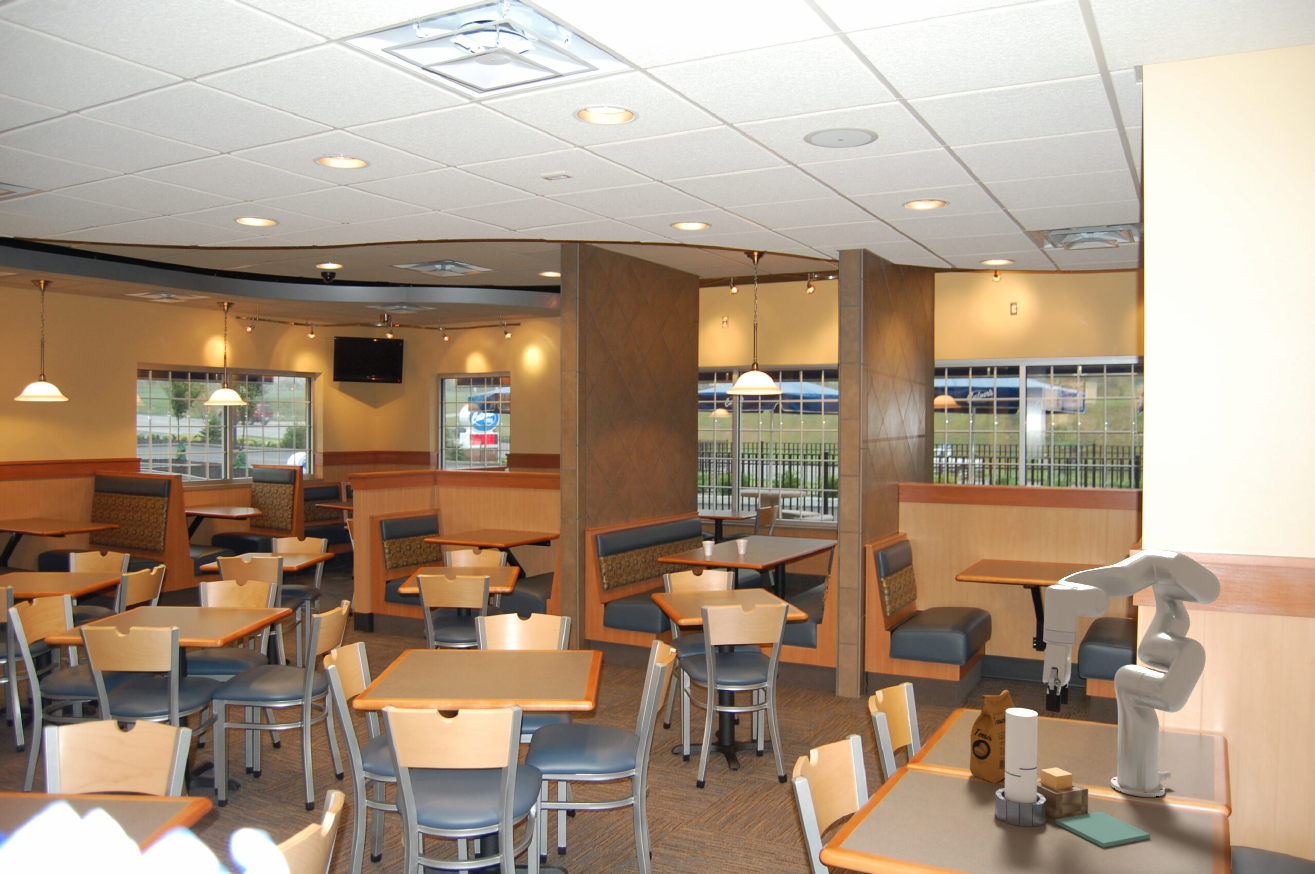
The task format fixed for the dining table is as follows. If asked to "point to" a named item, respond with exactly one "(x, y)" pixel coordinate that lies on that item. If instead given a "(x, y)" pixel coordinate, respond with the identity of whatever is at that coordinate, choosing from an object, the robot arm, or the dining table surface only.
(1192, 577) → the robot arm
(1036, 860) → the dining table surface
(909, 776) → the dining table surface
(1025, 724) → the cylindrical container
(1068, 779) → the tan block
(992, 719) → the coffee package
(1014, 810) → the collar
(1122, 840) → the mat
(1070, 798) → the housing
